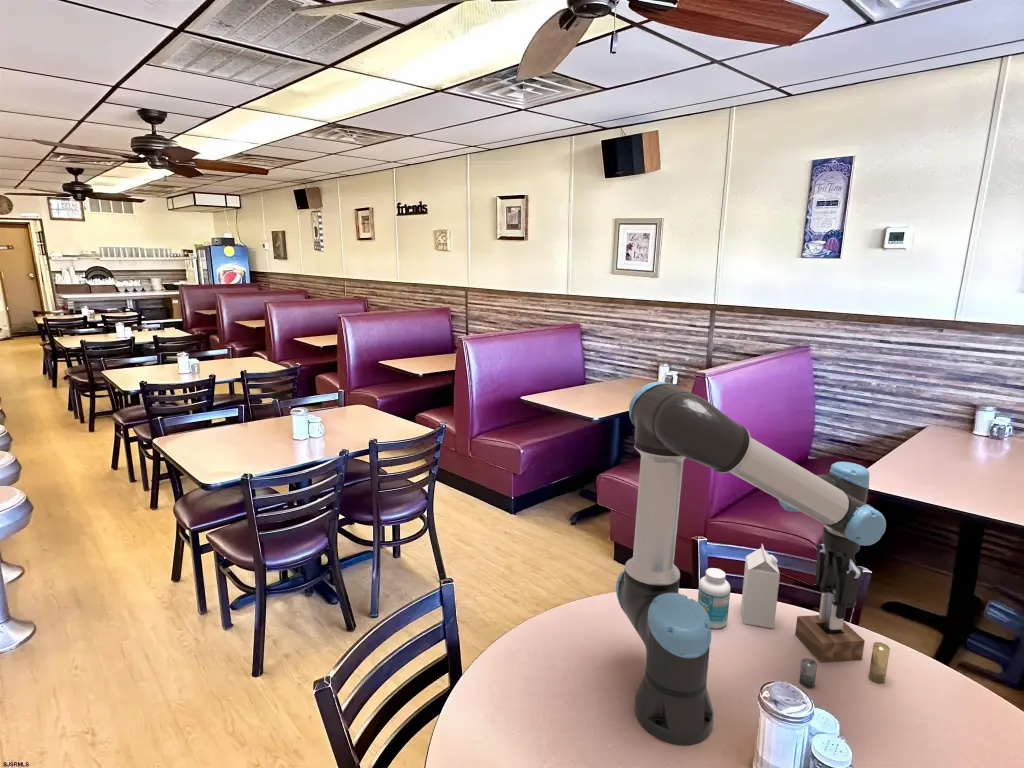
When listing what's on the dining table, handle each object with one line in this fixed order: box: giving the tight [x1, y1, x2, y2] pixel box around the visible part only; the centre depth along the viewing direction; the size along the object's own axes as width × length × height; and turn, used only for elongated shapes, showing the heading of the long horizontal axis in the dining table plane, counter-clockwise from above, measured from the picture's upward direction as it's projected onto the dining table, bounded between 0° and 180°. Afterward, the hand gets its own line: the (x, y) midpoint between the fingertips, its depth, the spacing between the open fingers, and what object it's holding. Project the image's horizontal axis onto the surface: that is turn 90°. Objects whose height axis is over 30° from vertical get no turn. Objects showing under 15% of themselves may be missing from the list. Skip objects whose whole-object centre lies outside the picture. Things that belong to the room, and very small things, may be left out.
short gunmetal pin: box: [798, 657, 818, 689], centre depth 121 cm, size 3×3×5 cm
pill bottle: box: [697, 567, 731, 630], centre depth 142 cm, size 8×7×14 cm
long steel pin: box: [824, 589, 839, 634], centre depth 132 cm, size 3×3×13 cm
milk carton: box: [740, 543, 781, 629], centre depth 143 cm, size 7×7×19 cm
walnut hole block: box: [794, 614, 865, 663], centre depth 133 cm, size 10×10×5 cm
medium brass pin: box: [868, 641, 891, 685], centre depth 122 cm, size 3×3×8 cm
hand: (830, 623), depth 132 cm, fingers open, 3 cm apart
